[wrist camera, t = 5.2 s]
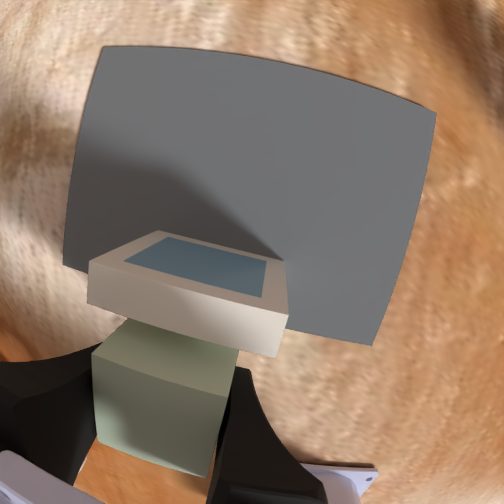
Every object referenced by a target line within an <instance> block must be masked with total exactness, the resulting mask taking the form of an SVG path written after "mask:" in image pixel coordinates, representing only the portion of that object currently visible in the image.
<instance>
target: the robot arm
mask: <svg viewBox="0 0 504 504" xmlns="http://www.w3.org/2000/svg"><path fill="white" fill-rule="evenodd" d="M102 343H103V342H101V343H99V344H96V345H94V346H91V347H89V348H86V349H83V350H80V351H77V352H74V353H71V354H68V355H64V356H60V357H56V358H51V359H45V360H37V361H29V362H0V504H105V503H104V502H102V501H100V500H98V499H96V498H94V497H93V496H91V495H89V494H87V493H85V492H83V491H81V490H79V489H77V488H75V487H73V484H74V482H75V480H76V477H77V475H78V473H79V470H80V468H81V466H82V464H83V462H84V460H85V457H86V455H87V453H88V451H89V449H90V447H91V445H92V444H93V442H94V440H95V438H96V436H97V430H96V420H95V410H94V397H93V381H92V355H91V354H92V353H93V352H94V351H95V350H96V349H97V348H98V347H99V346H100V345H101V344H102ZM378 474H379V473H378V469H376V468H352V467H335V466H323V465H312V464H303V463H299V462H298V461H297V460H296V459H295V458H294V457H293V456H292V455H291V454H290V453H289V451H288V450H287V449H286V448H285V447H284V445H283V444H282V443H281V441H280V440H279V438H278V437H277V436H276V434H275V432H274V431H273V429H272V428H271V426H270V424H269V422H268V420H267V418H266V416H265V414H264V412H263V410H262V407H261V405H260V402H259V400H258V397H257V394H256V391H255V388H254V384H253V380H252V374H251V371H250V370H249V369H246V368H241V367H237V366H235V370H234V374H233V378H232V383H231V387H230V391H229V395H228V399H227V403H226V407H225V411H224V415H223V419H222V422H221V426H220V430H219V434H218V440H217V448H216V456H215V464H214V470H213V476H212V480H211V484H210V488H209V492H208V496H207V500H206V504H360V498H359V497H360V496H361V495H362V494H363V493H364V492H365V490H366V489H367V488H368V487H369V486H370V484H371V483H372V482H373V481H374V479H375V478H376V477H377V476H378Z"/></svg>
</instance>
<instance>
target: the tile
mask: <svg viewBox="0 0 504 504" xmlns="http://www.w3.org/2000/svg"><path fill="white" fill-rule="evenodd" d="M87 303H88V304H91V305H94V306H97V307H99V308H102V309H105V310H108V311H111V312H113V313H116V314H119V315H122V316H125V317H128V318H131V319H134V320H137V321H140V322H143V323H147V324H150V325H153V326H156V327H159V328H163V329H166V330H169V331H173V332H176V333H179V334H183V335H186V336H190V337H193V338H197V339H200V340H204V341H208V342H212V343H215V344H219V345H223V346H227V347H231V348H235V349H239V350H243V351H247V352H251V353H256V354H260V355H264V356H269V357H273V358H276V355H277V351H278V348H279V345H280V342H281V339H282V336H283V332H284V329H285V326H286V323H287V319H288V316H289V312H288V298H287V286H286V273H285V261H282V260H278V259H273V258H269V257H265V256H261V255H257V254H253V253H249V252H245V251H241V250H237V249H233V248H229V247H225V246H221V245H216V244H212V243H208V242H204V241H200V240H196V239H192V238H188V237H184V236H180V235H176V234H172V233H168V232H164V231H160V230H157V231H155V232H152V233H150V234H148V235H145V236H143V237H141V238H139V239H136V240H134V241H132V242H130V243H127V244H125V245H123V246H121V247H118V248H116V249H114V250H112V251H110V252H107V253H105V254H103V255H101V256H99V257H96V258H94V259H92V260H90V261H89V269H88V287H87Z"/></svg>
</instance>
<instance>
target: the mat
mask: <svg viewBox="0 0 504 504" xmlns="http://www.w3.org/2000/svg"><path fill="white" fill-rule="evenodd" d="M436 114H437V113H436V112H433V111H431V110H429V109H427V108H424V107H422V106H419V105H417V104H415V103H412V102H410V101H407V100H405V99H402V98H400V97H397V96H394V95H392V94H389V93H386V92H384V91H381V90H378V89H375V88H372V87H369V86H366V85H363V84H360V83H357V82H354V81H351V80H347V79H344V78H341V77H337V76H334V75H330V74H327V73H323V72H319V71H315V70H311V69H307V68H303V67H299V66H295V65H290V64H286V63H281V62H276V61H271V60H266V59H260V58H255V57H249V56H242V55H236V54H229V53H221V52H213V51H204V50H193V49H181V48H164V47H104V48H103V51H102V54H101V57H100V60H99V63H98V66H97V69H96V72H95V75H94V79H93V82H92V86H91V89H90V93H89V96H88V100H87V104H86V107H85V111H84V115H83V120H82V124H81V128H80V133H79V137H78V142H77V147H76V152H75V158H74V163H73V169H72V175H71V182H70V188H69V196H68V204H67V212H66V222H65V233H64V246H63V265H65V266H68V267H70V268H73V269H76V270H79V271H82V272H85V273H88V269H89V261H90V260H92V259H94V258H96V257H99V256H101V255H103V254H105V253H107V252H110V251H112V250H114V249H116V248H118V247H121V246H123V245H125V244H127V243H130V242H132V241H134V240H136V239H139V238H141V237H143V236H145V235H148V234H150V233H152V232H155V231H157V230H160V231H164V232H168V233H172V234H176V235H180V236H184V237H188V238H192V239H196V240H200V241H204V242H208V243H212V244H216V245H221V246H225V247H229V248H233V249H237V250H241V251H245V252H249V253H253V254H257V255H261V256H265V257H269V258H273V259H278V260H282V261H285V273H286V286H287V298H288V312H289V316H288V319H287V323H286V326H285V328H286V329H290V330H295V331H299V332H304V333H309V334H313V335H318V336H323V337H328V338H333V339H338V340H343V341H348V342H353V343H359V344H364V345H370V346H372V344H373V342H374V339H375V337H376V335H377V332H378V330H379V327H380V325H381V322H382V319H383V317H384V314H385V312H386V309H387V306H388V303H389V301H390V298H391V295H392V292H393V289H394V287H395V284H396V281H397V278H398V275H399V272H400V269H401V266H402V262H403V259H404V256H405V253H406V249H407V246H408V243H409V239H410V236H411V232H412V229H413V225H414V221H415V218H416V214H417V210H418V206H419V202H420V198H421V194H422V189H423V185H424V180H425V176H426V171H427V166H428V161H429V156H430V151H431V145H432V140H433V134H434V127H435V121H436Z"/></svg>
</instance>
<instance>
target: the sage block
mask: <svg viewBox="0 0 504 504" xmlns="http://www.w3.org/2000/svg"><path fill="white" fill-rule="evenodd" d="M238 353H239V349H235V348H231V347H227V346H223V345H219V344H215V343H212V342H208V341H204V340H200V339H197V338H193V337H190V336H186V335H183V334H179V333H176V332H173V331H169V330H166V329H163V328H159V327H156V326H153V325H150V324H147V323H143V322H140V321H137V320H134V319H131V318H128V319H127V320H126V321H125V322H124V323H123V324H122V325H120V326H119V327H118V328H117V329H116V330H115V331H114V332H113V333H112V334H111V335H110V336H109V337H108V338H107V339H106V340H105V341H104V342H103V343H102V344H101V345H100V346H99V347H98V348H97V349H96V350H95V351H94V352H93V353H92V354H91V355H92V381H93V397H94V410H95V420H96V430H97V438H98V442H100V443H103V444H105V445H107V446H110V447H112V448H115V449H117V450H120V451H122V452H125V453H127V454H130V455H132V456H135V457H138V458H141V459H144V460H146V461H149V462H152V463H155V464H158V465H161V466H165V467H168V468H171V469H174V470H178V471H181V472H185V473H188V474H192V475H196V476H200V477H204V478H207V475H208V471H209V468H210V464H211V460H212V456H213V453H214V449H215V445H216V441H217V438H218V434H219V430H220V426H221V422H222V419H223V415H224V411H225V407H226V403H227V399H228V395H229V391H230V387H231V383H232V378H233V374H234V370H235V365H236V361H237V357H238Z"/></svg>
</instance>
